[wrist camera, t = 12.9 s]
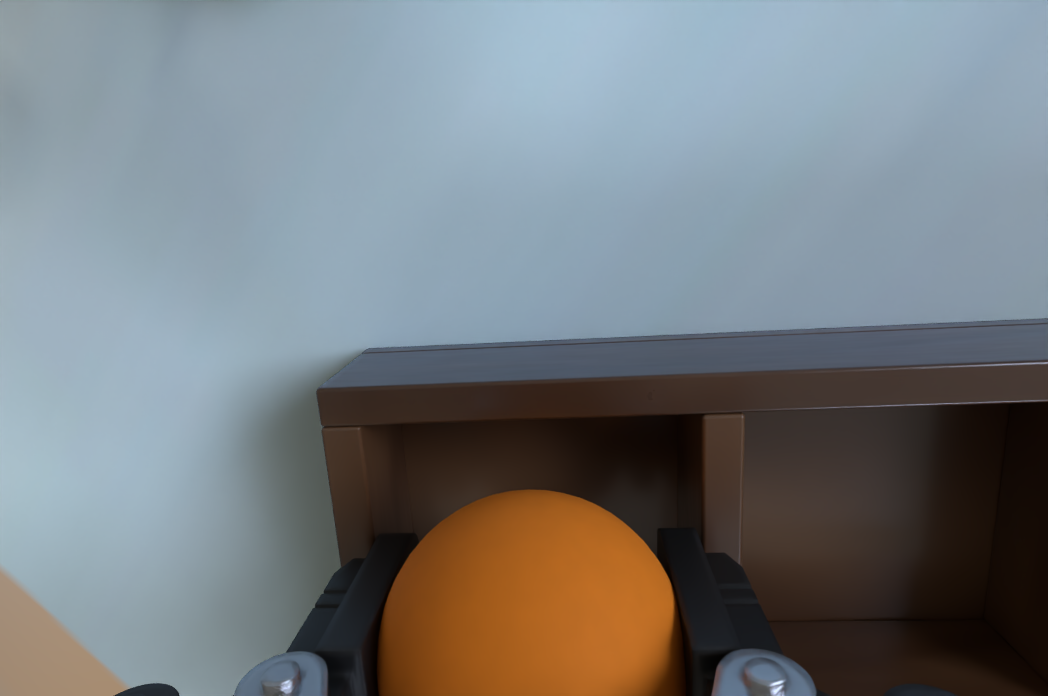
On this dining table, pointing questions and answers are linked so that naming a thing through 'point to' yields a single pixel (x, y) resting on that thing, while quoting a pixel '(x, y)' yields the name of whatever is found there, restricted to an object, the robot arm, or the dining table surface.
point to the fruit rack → (753, 474)
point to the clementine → (531, 606)
